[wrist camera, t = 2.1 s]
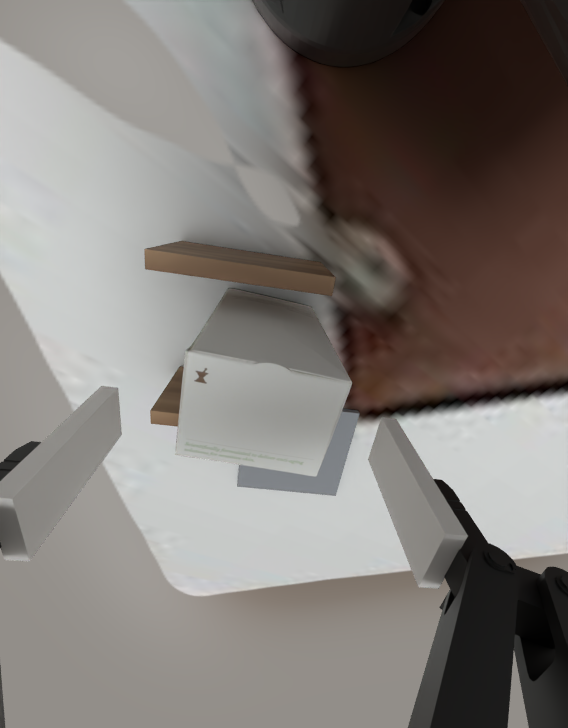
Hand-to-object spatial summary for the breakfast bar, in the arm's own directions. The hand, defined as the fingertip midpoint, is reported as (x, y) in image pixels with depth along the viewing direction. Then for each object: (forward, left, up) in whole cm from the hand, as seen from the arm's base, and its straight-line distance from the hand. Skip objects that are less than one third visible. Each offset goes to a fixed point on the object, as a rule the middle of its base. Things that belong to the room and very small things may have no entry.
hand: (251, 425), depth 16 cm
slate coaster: (+14, +5, -15) cm, 21 cm away
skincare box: (0, 0, -16) cm, 16 cm away
